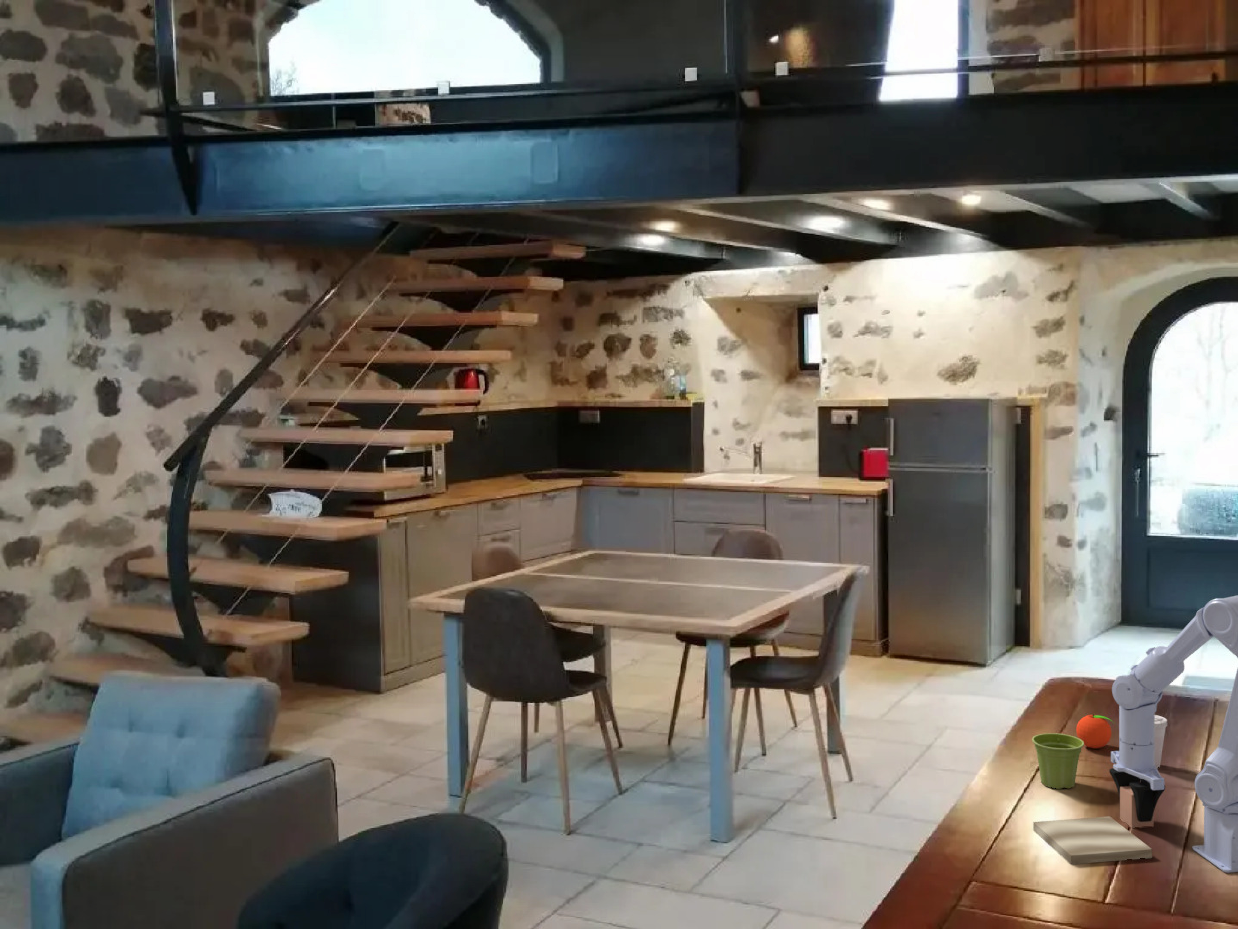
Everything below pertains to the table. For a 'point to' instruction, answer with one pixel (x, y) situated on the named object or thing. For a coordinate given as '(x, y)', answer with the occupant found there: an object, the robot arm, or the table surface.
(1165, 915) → the table surface
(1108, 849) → the board
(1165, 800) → the table surface
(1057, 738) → the plant pot
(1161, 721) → the smoothie
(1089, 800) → the table surface
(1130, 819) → the block
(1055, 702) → the table surface
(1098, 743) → the clementine
